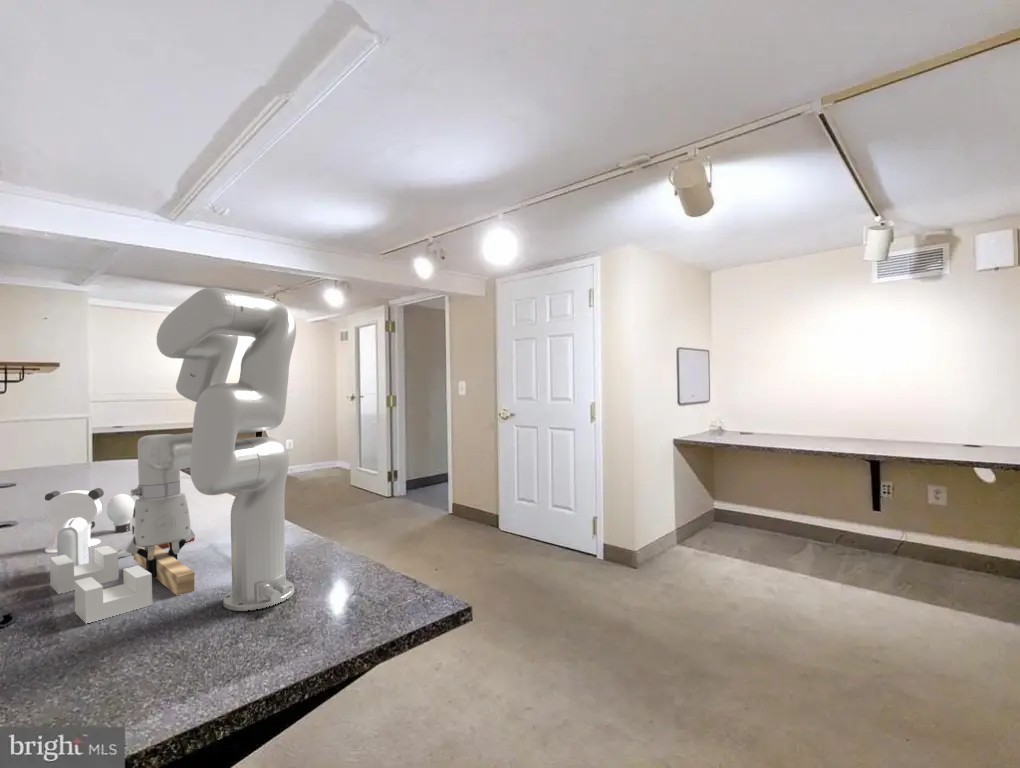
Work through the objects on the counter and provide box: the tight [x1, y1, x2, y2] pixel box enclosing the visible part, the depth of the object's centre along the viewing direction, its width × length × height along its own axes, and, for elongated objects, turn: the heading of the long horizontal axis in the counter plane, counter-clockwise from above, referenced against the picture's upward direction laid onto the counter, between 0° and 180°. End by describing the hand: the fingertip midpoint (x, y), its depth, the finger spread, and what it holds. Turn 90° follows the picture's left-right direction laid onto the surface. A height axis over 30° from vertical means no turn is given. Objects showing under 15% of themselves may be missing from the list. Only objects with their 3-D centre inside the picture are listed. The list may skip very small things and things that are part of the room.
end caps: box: [49, 545, 153, 625], centre depth 103 cm, size 30×10×6 cm, turn 51°
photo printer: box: [56, 517, 90, 566], centre depth 116 cm, size 10×4×12 cm, turn 29°
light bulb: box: [106, 493, 135, 534], centre depth 150 cm, size 7×7×11 cm
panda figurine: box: [44, 487, 105, 554], centre depth 136 cm, size 12×11×15 cm
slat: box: [133, 545, 196, 596], centre depth 111 cm, size 28×3×4 cm, turn 51°
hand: (162, 573), depth 111 cm, fingers closed on slat, 2 cm apart
